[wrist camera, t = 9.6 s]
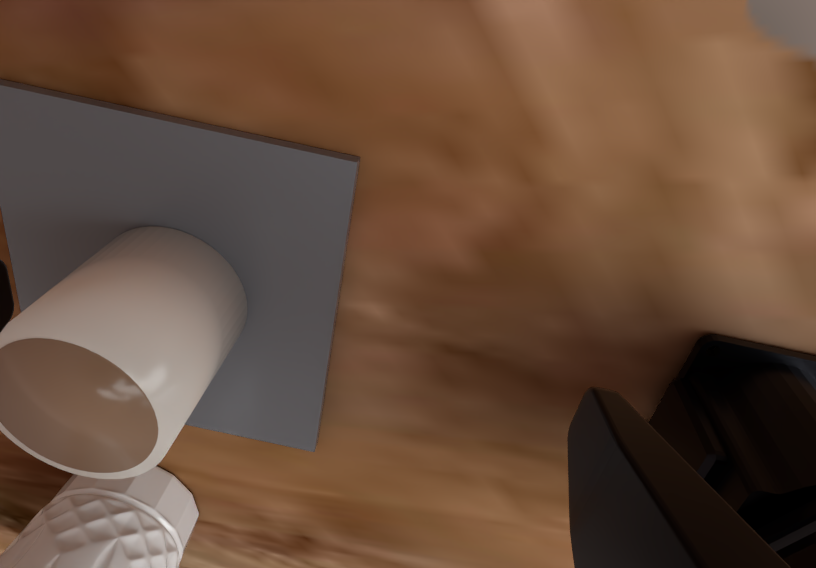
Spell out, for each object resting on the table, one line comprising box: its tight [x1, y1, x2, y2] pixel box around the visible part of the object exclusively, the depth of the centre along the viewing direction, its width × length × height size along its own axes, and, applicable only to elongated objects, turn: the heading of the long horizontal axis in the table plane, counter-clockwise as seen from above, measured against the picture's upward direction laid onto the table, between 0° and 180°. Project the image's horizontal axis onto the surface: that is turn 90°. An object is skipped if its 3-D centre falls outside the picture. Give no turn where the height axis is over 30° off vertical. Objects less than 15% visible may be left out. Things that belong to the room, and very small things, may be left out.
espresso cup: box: [0, 226, 247, 479], centre depth 20 cm, size 6×8×7 cm
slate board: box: [0, 79, 360, 452], centre depth 23 cm, size 13×14×1 cm
